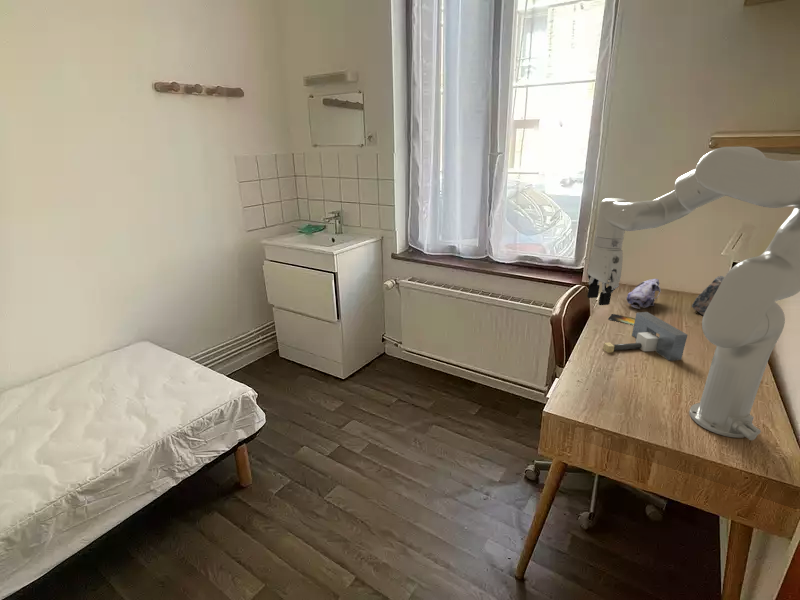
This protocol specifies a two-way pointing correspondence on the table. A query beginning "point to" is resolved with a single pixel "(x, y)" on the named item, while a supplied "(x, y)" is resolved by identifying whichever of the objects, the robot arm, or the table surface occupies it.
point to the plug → (643, 341)
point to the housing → (661, 335)
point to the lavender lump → (644, 294)
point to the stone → (707, 296)
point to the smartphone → (622, 319)
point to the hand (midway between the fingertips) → (598, 300)
